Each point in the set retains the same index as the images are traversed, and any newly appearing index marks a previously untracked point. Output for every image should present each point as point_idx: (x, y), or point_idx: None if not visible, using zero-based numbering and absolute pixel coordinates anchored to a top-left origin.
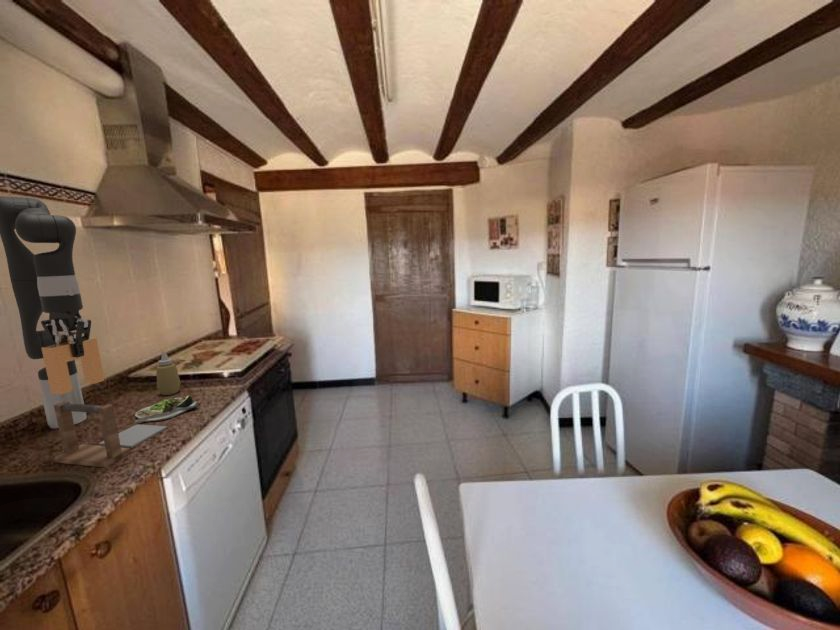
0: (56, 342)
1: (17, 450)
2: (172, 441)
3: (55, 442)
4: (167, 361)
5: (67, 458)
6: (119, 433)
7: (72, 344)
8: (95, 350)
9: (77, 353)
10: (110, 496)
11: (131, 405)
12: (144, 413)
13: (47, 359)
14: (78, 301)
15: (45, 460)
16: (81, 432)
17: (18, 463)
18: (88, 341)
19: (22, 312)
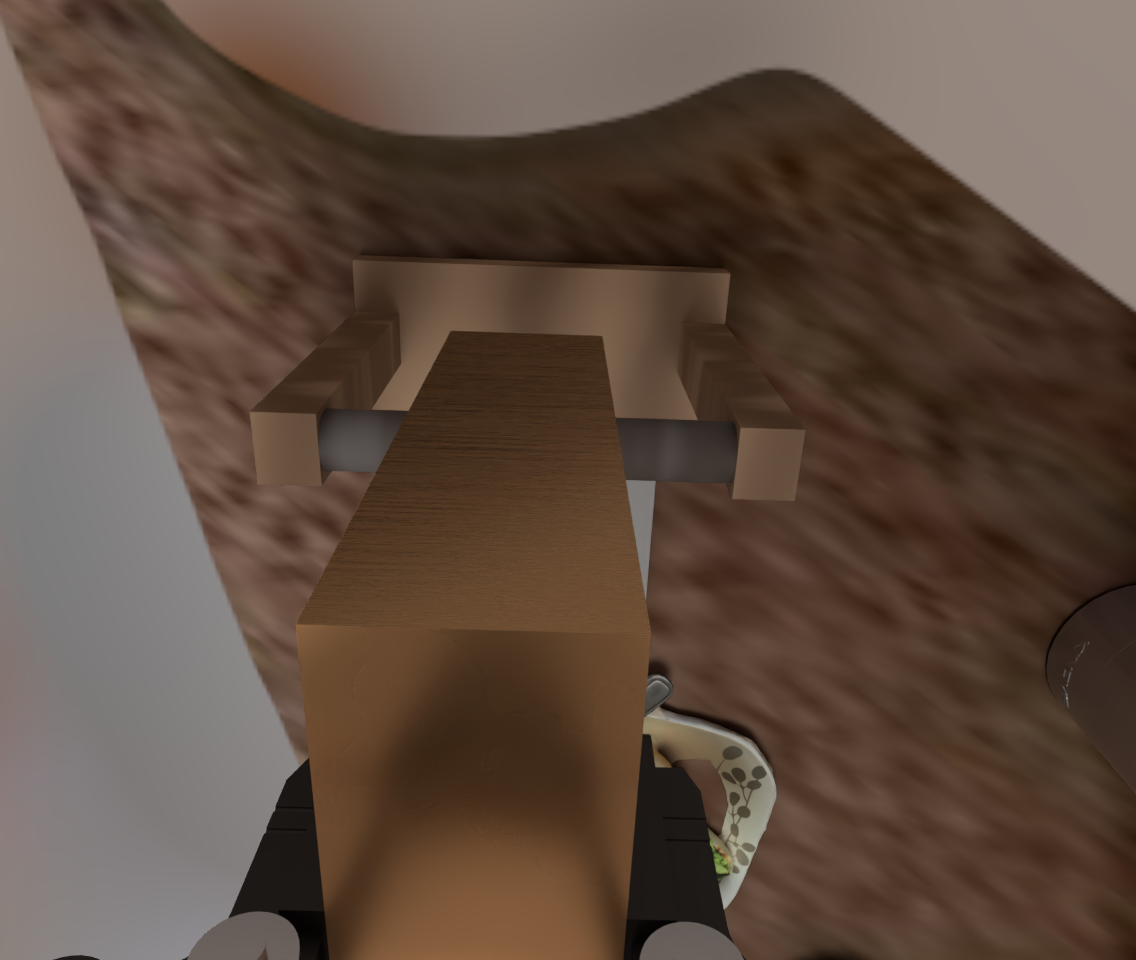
0: (703, 945)
1: (1119, 354)
2: (247, 528)
3: (968, 453)
4: None
5: (633, 272)
6: (640, 562)
7: (294, 914)
8: None
9: (311, 783)
10: (16, 9)
11: (925, 851)
12: (730, 772)
13: (544, 502)
14: None
15: (814, 280)
16: (920, 563)
17: (952, 234)
18: None
19: None
